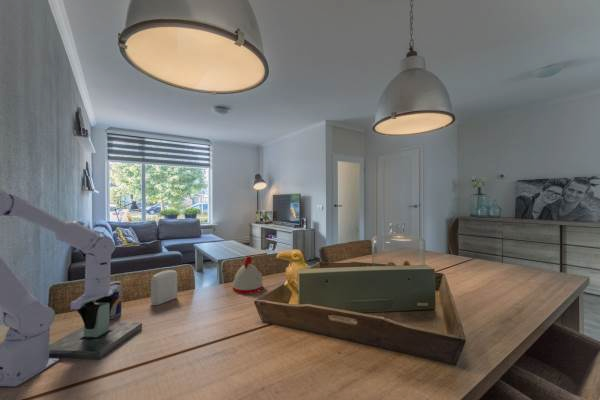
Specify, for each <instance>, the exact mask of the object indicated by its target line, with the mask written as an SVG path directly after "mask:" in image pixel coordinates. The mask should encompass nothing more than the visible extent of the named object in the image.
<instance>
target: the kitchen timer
mask: <svg viewBox="0 0 600 400" xmlns="http://www.w3.org/2000/svg"><path fill="white" fill-rule="evenodd" d="M251 257H252V256H250V255H249V256H247V257H246V259H245V263H244V264H243V265H241V266H240V267H239V269H238V270H237V271H236V274H234V275H233V282H232V291H233V292H234V291H235V292H234V293H236V292H238V293H237V294H242V293H248V294H251V293H250V292H255V291H258V290H260V289H261V288H262V287H263V286H264V285H263V275H262V273H261V272H259V270H258V268H257V267H256V266H255V265H254V264H252V260H253V259H252V258H251ZM262 289H263V288H262ZM260 291H261V290H260ZM258 292H259V291H258ZM255 293H256V292H255Z"/></svg>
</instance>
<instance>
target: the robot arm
mask: <svg viewBox="0 0 600 400" xmlns="http://www.w3.org/2000/svg"><path fill="white" fill-rule="evenodd" d="M1 216H6V217H7V216H8V217H18V218H20V219H22V220H25V221H27V222H30V223H33V224H35V225H37V226H39V227H42V228H44V229H46V230H49V231H51V232H54V235H55V239H56V240H58V241H59V242H62V243H64V244H67V245H69V246H70V247H73V248H76V249H78V250H81V252H82V253H83V254H85V269H84V270H85V271H84V293H83V294H82V295H81V296H79V297H78V298H76V299H75V300H73V301H70V310H76V312H77V313H78V314H79V315H80V317H81V320H82V321H83V326H84V325H85V328H86V329H94V328H95V324H96V315H97V311H98V309H99V306H100V304H95V303H96V302H102V303H110V307H109V314H110V311H111V308H112V306H113V304H114V302H115V300H116V299H117V295H116V294H113V293H114V292H118V291H120V285H112V286H110V281H111V262H112V261H111V260H112V254H113V253H114V251H115V250H116V246H117V245H116V244H115V243H114V241H113V239H112V237H110V236H104V235H100V234H101V231H98V230H92V229H91V228H89V227H86V226H85V222H83V221H81V220H80V221H79V220H78V221H76V220H70V221H69V220H68V221H65V220H63V219H60V218H59V217H57V216H55V215H53V214H52V213H50V212H48V211H46V210H44V209H43V208H42V207H41V208H40V207H39V206H37V205H35V204H34V203H32V202H30V201H28V200H26V199H25V198H22V197H21V196H18V195H15V194H13V193H8V192H7V191H5V190H3V189H2V188H0V217H1ZM0 312H1V315H2V322H3V325H5V326H6V327H7V328H8V330H7V332H6V334H5V338H4V340H3V341H1V342H0V387H13V388H14V387H18V386H20V385H22V384H23V383H25V382H27V381H29V379H31V378H34V376H36V375H37V374H39V373H41V372H43V371H44V370H46V369H47V368H50V367H51V366H52V365H55V364H56V363H57V362H59V361H60V358H49V345H50V343H51V341H50V335H51V326H52V324H54V323H53V322H54V321H55V318H56V313H55V310H54V309H53V308H52V307H50V306H46V305H44V304H42V303H41V301H39V299H37V297H35V296H34V295H33V294H31V292H29V290H28V289H27V288H26V287H25V286H24V284H23V283H22V282H21V280H20V279H19V278H18V277H17V276H16V274H15V273H14V272H13V271H12V269H11V267H9V265H8V264H7V263H6V261H5V260H4V259H3V258H2V256H1V255H0Z"/></svg>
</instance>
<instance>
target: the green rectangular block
mask: <svg viewBox="0 0 600 400" xmlns="http://www.w3.org/2000/svg"><path fill="white" fill-rule="evenodd" d="M94 303H95V304H100V306H99V309H98V311H97V315H96V324H95V328H94V329H86V328H85V325H84V324H83V327H84V337H94V338H98V337H99V336H100V335H102V334H103V333H105V332H106V331H108V330H109V322H110V319H109V307H110V303H102V302H96V301H95V302H94Z"/></svg>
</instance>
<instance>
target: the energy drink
mask: <svg viewBox="0 0 600 400" xmlns="http://www.w3.org/2000/svg"><path fill="white" fill-rule="evenodd" d="M112 285H120V291H118V292H114V293H113V294H116V295H117V299H116V300H115V302H114V304H113V306H112V308H111V311H110V314H109V320H113V319H116V318H119V317H121V315H122V305H123V304H122V297H123V291H122V290H123V283H122V280H110V286H112Z"/></svg>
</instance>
